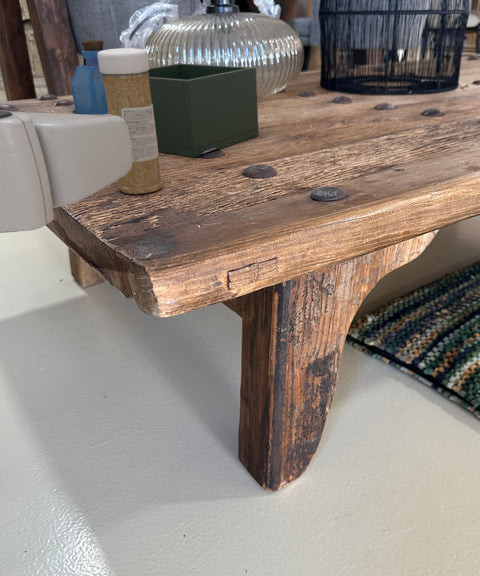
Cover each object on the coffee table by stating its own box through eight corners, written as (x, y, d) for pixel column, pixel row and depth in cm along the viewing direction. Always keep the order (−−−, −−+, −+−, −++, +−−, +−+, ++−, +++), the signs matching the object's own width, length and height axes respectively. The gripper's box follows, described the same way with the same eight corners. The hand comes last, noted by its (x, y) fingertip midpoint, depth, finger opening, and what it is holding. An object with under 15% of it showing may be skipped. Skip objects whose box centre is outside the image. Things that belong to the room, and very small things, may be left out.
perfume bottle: (78, 125, 89) (62, 41, 83) (113, 119, 93) (101, 38, 87) (97, 130, 85) (82, 43, 80) (134, 124, 89) (122, 40, 83)
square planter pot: (118, 145, 77) (106, 74, 72) (185, 126, 87) (179, 63, 82) (195, 158, 70) (187, 80, 66) (258, 135, 80) (256, 67, 76)
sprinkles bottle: (116, 186, 60) (93, 49, 54) (158, 180, 62) (141, 46, 56) (123, 198, 57) (99, 52, 50) (168, 191, 58) (151, 50, 52)
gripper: (-196, 206, 38) (-37, 154, 50) (63, 233, 33) (174, 168, 44) (-239, 109, 35) (-59, 78, 47) (38, 120, 30) (164, 83, 42)
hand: (56, 122), depth 46 cm, fingers open, 8 cm apart
